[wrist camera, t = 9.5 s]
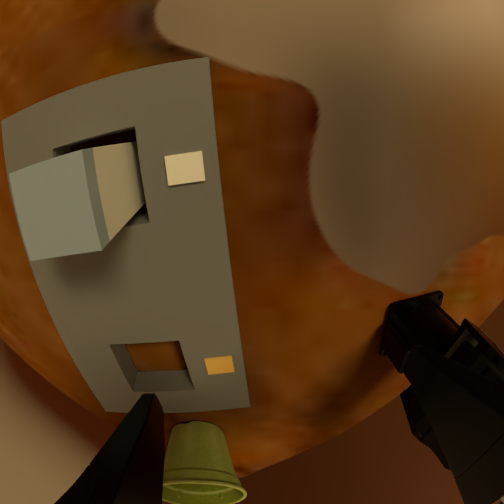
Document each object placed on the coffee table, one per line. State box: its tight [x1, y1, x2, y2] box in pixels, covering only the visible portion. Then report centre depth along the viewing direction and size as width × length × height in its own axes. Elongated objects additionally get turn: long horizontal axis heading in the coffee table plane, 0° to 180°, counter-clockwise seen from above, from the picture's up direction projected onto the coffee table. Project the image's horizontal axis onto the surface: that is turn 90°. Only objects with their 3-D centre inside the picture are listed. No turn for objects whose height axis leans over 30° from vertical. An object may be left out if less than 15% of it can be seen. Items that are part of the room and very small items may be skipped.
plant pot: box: [162, 421, 247, 504], centre depth 24 cm, size 9×9×9 cm
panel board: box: [1, 57, 251, 413], centre depth 18 cm, size 14×26×3 cm, turn 5°
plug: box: [9, 142, 146, 261], centre depth 13 cm, size 4×4×8 cm
